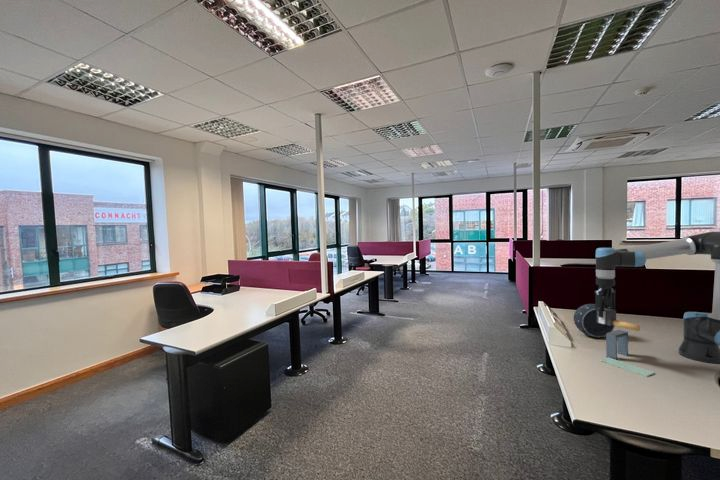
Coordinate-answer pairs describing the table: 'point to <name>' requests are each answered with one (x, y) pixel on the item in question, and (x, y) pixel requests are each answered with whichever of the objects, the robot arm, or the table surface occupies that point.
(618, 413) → the table surface
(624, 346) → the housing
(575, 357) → the table surface
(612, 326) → the dark grey short cylinder
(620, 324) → the grey hammer
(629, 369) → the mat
